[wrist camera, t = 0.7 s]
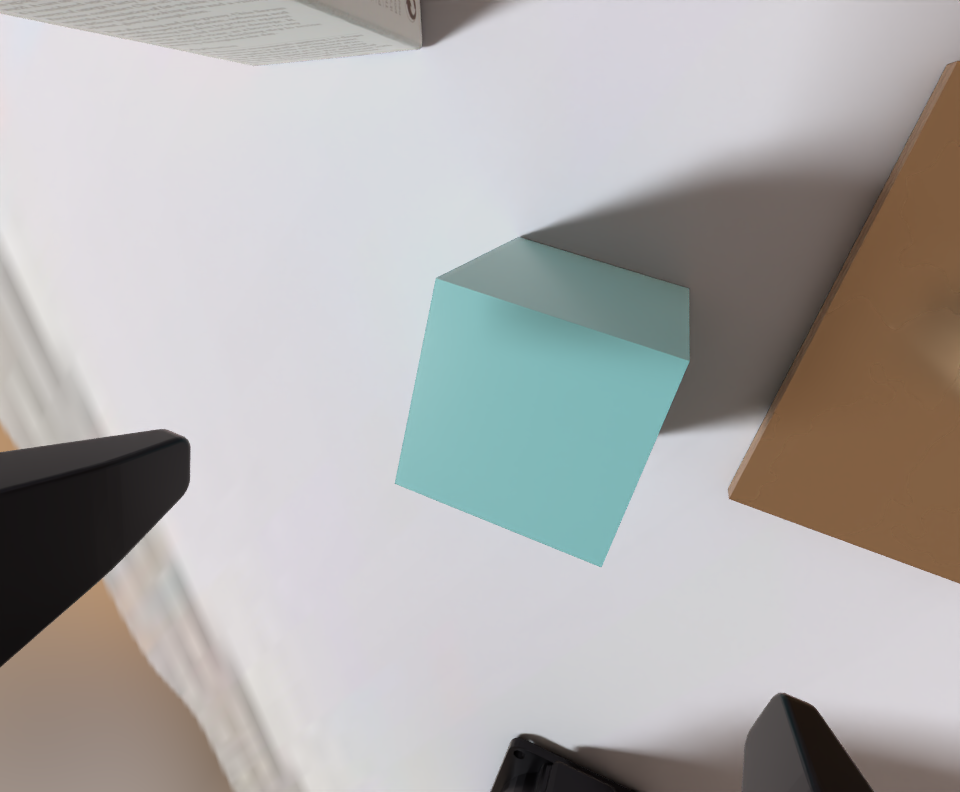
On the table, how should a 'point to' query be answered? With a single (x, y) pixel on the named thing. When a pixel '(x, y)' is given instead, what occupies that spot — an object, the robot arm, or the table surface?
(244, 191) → the table surface
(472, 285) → the teal rectangular block
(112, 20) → the skincare box
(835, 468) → the brown square base plate
